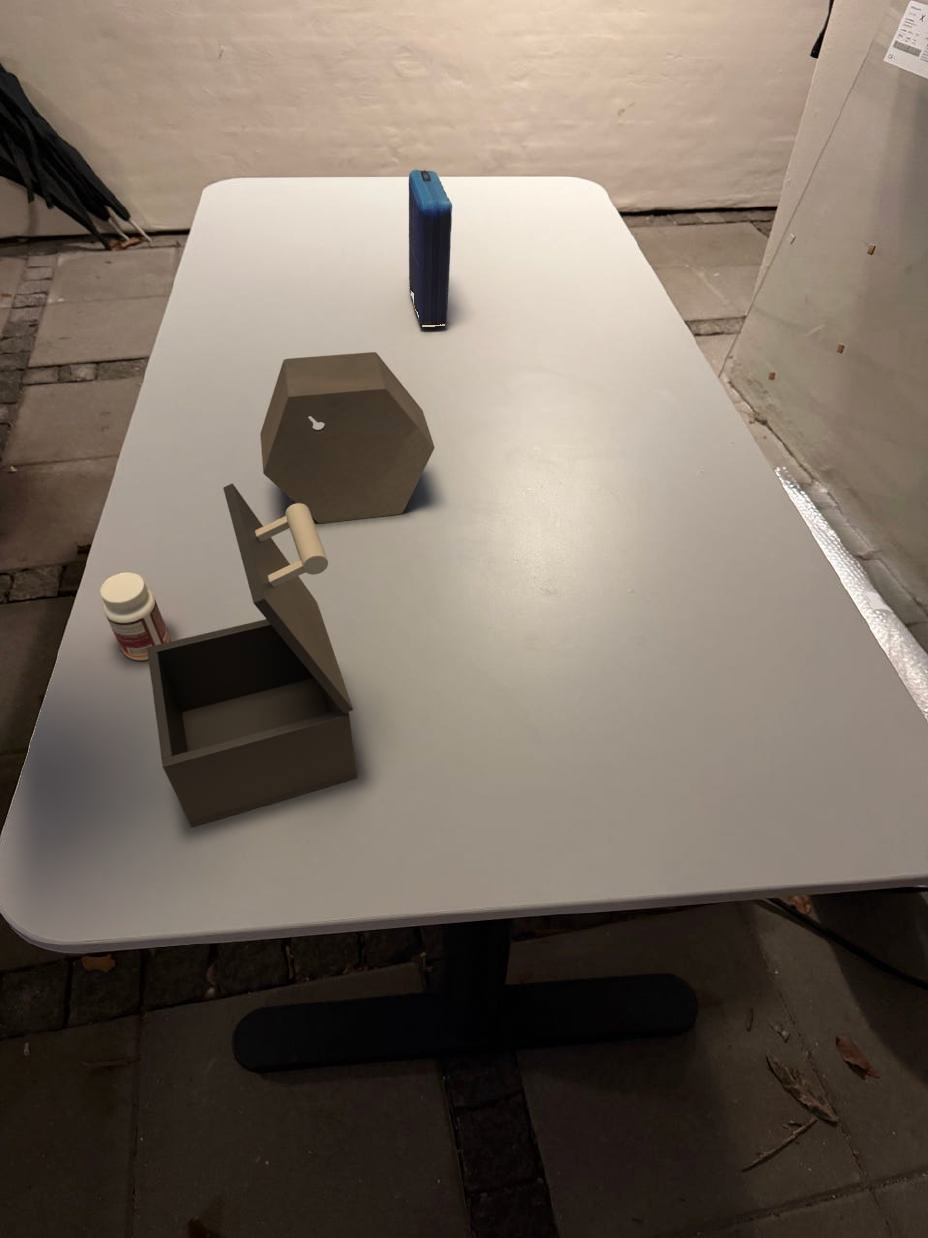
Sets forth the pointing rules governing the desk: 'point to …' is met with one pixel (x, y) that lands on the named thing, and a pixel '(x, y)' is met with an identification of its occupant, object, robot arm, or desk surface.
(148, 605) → the pill bottle
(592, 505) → the desk surface
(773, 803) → the desk surface
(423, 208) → the blue hard case
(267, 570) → the brown box lid
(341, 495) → the brown hexagonal block
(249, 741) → the dark wooden chest
